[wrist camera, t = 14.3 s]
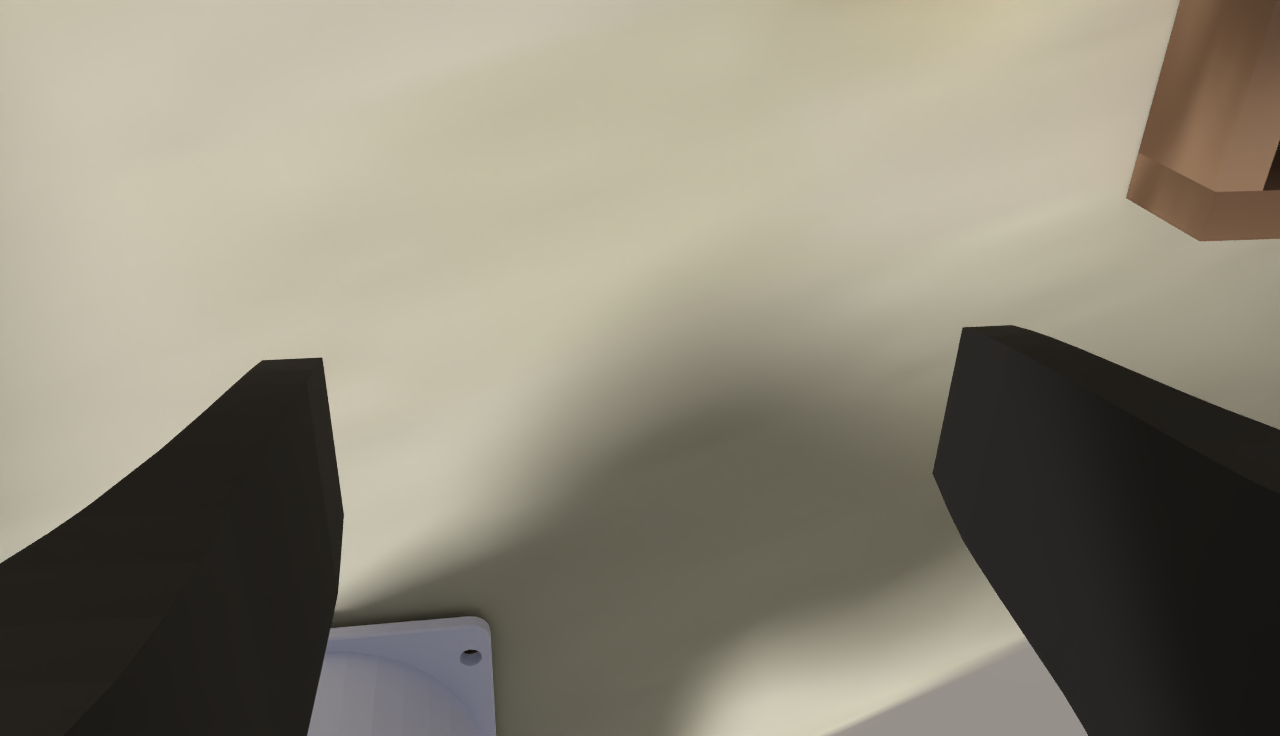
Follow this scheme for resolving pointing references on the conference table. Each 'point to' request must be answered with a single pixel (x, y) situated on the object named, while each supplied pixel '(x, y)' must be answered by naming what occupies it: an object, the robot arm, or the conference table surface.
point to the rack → (1216, 124)
